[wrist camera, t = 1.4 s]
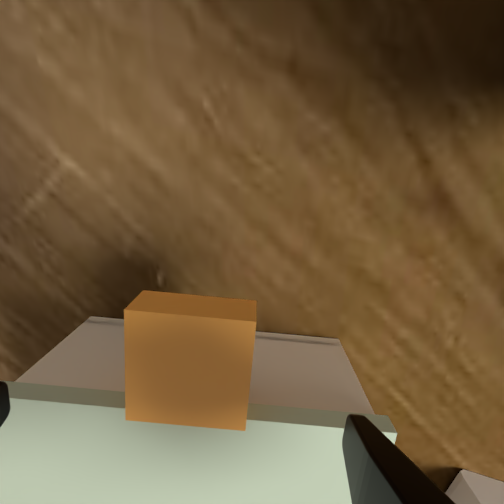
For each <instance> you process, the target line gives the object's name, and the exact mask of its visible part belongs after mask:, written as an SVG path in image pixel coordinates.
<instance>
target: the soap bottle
mask: <svg viewBox="0 0 504 504" xmlns="http://www.w3.org/2000/svg"><path fill="white" fill-rule="evenodd" d="M445 494H446V495H447V496H448V497H449V498H450V499H451V500H452V501H453V502H455V503H456V504H504V482H502V481H499V480H496V479H493V478H489V477H486V476H483V475H480V474H477V473H474V472H471V471H468V470H464V469H463V470H461V471H460V472H459V473H458V475H457V476H456V478H455V479H454V481H453V482H452V484H451V485H450V487H449V488H448V490H447V491H446V493H445Z"/></svg>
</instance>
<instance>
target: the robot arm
mask: <svg viewBox="0 0 504 504" xmlns="http://www.w3.org/2000/svg"><path fill="white" fill-rule="evenodd" d="M10 408H11V407H10V398H9V390H8V385H7V383H6V382H4V381H0V427H1V426H2V425H3V423H4V422H5V420H6V419H7V417H8V415H9V412H10ZM342 449H343V455H344V461H345V466H346V472H347V478H348V484H349V489H350V495H351V501H352V504H456V503H455V502H453V501H452V500H451V499H450V498H449V497H448V496H447V495H446V494H445V493H444V492H443V491H442V490H441V489H440V488H439V487H438V486H437V485H436V484H435V483H434V482H433V481H432V480H431V479H430V478H429V477H428V476H427V475H426V474H425V473H423V472H422V471H421V470H420V469H419V468H418V467H417V466H416V465H415V464H414V463H413V462H412V461H411V460H410V459H409V458H408V457H407V456H406V455H405V454H404V453H403V452H402V451H401V450H400V449H399V448H398V447H397V446H396V445H395V444H394V443H392V442H391V441H390V440H389V439H388V438H387V437H386V436H385V435H384V434H383V433H382V432H381V431H380V430H379V429H378V428H377V427H376V426H375V425H374V424H373V423H372V422H371V421H370V420H369V419H368V418H367V417H365V416H364V415H359V414H349V415H348V416H347V418H346V423H345V428H344V433H343V438H342Z"/></svg>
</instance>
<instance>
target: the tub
mask: <svg viewBox="0 0 504 504" xmlns="http://www.w3.org/2000/svg"><path fill="white" fill-rule="evenodd" d="M15 382H22V383H33V384H44V385H55V386H66V387H77V388H88V389H99V390H110V391H121V392H125V351H124V319H116V318H105V317H94V316H90V317H89V318H88V319H87V320H86V321H85V322H83V323H82V324H81V325H80V326H79V327H78V328H76V329H75V330H74V331H73V332H72V333H71V334H69V335H68V336H67V337H66V338H65V339H64V340H62V341H61V342H60V343H59V344H58V345H57V346H55V347H54V348H53V349H52V350H51V351H50V352H48V353H47V354H46V355H45V356H44V357H43V358H41V359H40V360H39V361H38V362H37V363H36V364H34V365H33V366H32V367H31V368H30V369H29V370H27V371H26V372H25V373H24V374H23V375H22V376H20V377H19V378H18V379H17V380H16V381H15ZM248 403H253V404H264V405H275V406H286V407H297V408H308V409H319V410H330V411H341V412H352V413H363V414H374V412H373V410H372V407H371V405H370V403H369V401H368V399H367V397H366V395H365V393H364V391H363V389H362V387H361V385H360V383H359V380H358V378H357V376H356V374H355V372H354V370H353V368H352V366H351V364H350V362H349V360H348V358H347V356H346V353H345V351H344V349H343V347H342V345H341V343H340V341H339V339H334V338H324V337H313V336H302V335H291V334H280V333H269V332H258V331H256V332H255V342H254V352H253V361H252V371H251V381H250V390H249V400H248ZM374 415H375V414H374Z"/></svg>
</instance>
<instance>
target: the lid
mask: <svg viewBox="0 0 504 504" xmlns="http://www.w3.org/2000/svg"><path fill="white" fill-rule="evenodd" d="M256 322H257V301H255V300H245V299H234V298H223V297H212V296H201V295H190V294H179V293H168V292H158V291H147V290H143V291H142V292H141V293H140V294H139V295H138V296H137V297H136V298H135V299H134V300H133V301H132V302H131V303H130V304H129V305H128V306H127V307H126V308H125V309H124V351H125V392H121V391H110V390H99V389H88V388H77V387H66V386H55V385H44V384H33V383H22V382H11V381H4V382H6V383H7V385H8V390H9V398H10V407H11V408H10V412H9V415H8V417H7V419H6V420H5V422H4V423H3V425H2V426H1V427H0V504H352V501H351V495H350V489H349V484H348V478H347V472H346V466H345V461H344V455H343V449H342V438H343V433H344V428H345V423H346V418H347V416H348V415H349V414H359V415H364V416H365V417H367V418H368V419H369V420H370V421H371V422H372V423H373V424H374V425H375V426H376V427H377V428H378V429H379V430H380V431H381V432H382V433H383V434H384V435H385V436H386V437H387V438H388V439H389V440H390V441H391V442H392V443H394V444H395V440H396V436H397V432H396V430H395V428H394V426H393V424H392V423H391V421H390V419H389V417H388V416H385V415H374V414H363V413H352V412H341V411H330V410H319V409H308V408H297V407H286V406H275V405H264V404H253V403H248V400H249V390H250V381H251V371H252V361H253V352H254V342H255V332H256Z"/></svg>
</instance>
